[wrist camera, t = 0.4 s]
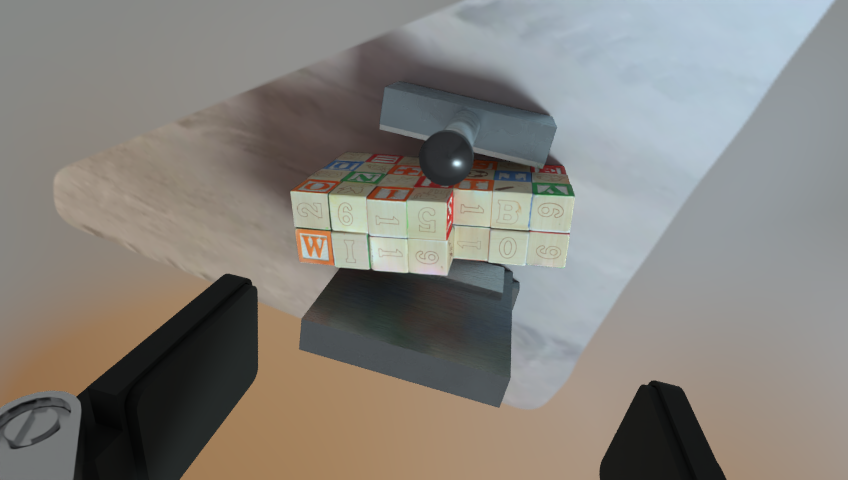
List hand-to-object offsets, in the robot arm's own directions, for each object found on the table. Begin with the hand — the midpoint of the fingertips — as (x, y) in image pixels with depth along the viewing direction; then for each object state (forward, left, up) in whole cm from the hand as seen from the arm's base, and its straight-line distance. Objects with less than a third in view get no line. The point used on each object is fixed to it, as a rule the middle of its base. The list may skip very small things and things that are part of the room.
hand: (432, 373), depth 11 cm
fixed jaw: (+18, -2, -33) cm, 38 cm away
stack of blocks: (+7, -3, -34) cm, 35 cm away
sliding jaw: (0, -2, -33) cm, 33 cm away
